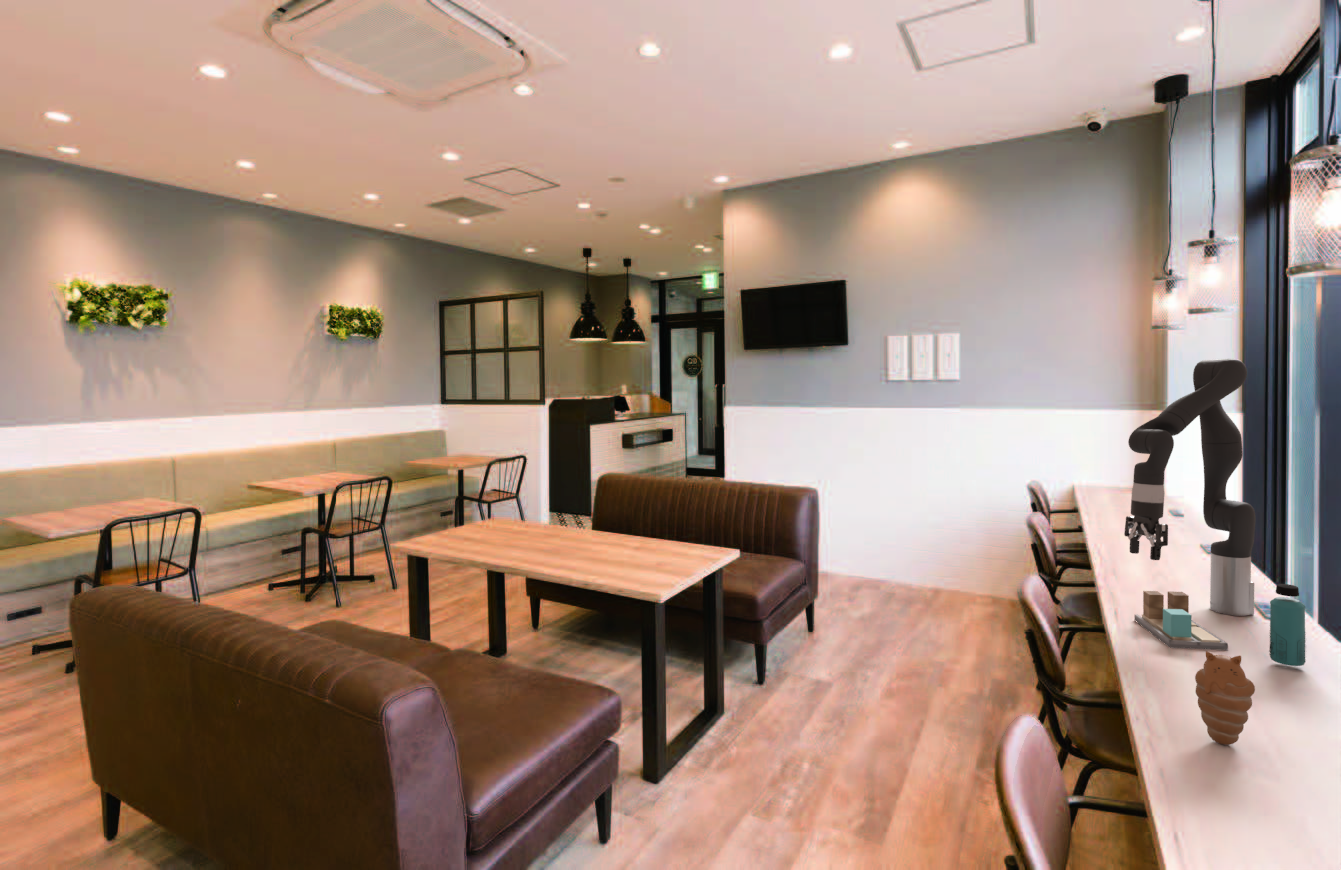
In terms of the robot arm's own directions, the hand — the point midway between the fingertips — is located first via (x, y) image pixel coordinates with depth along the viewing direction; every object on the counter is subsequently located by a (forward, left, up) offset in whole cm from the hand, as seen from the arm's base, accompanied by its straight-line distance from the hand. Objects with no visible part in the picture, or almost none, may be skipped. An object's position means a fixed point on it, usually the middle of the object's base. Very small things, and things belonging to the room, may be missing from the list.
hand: (1144, 556), depth 190 cm
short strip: (-9, +1, -19) cm, 21 cm away
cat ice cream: (+13, +67, -20) cm, 71 cm away
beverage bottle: (-20, +26, -20) cm, 39 cm away
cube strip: (-3, +6, -19) cm, 20 cm away
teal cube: (-3, +12, -18) cm, 22 cm away
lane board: (-6, +6, -20) cm, 22 cm away
